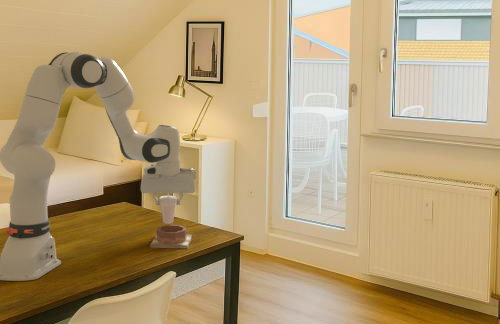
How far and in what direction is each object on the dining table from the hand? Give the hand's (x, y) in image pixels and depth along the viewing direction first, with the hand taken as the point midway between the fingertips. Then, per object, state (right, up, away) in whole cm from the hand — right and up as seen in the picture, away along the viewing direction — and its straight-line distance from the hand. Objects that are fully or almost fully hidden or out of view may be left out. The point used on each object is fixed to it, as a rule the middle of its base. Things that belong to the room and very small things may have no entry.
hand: (168, 204), depth 231 cm
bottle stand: (+3, -13, -10) cm, 16 cm away
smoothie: (0, -7, +1) cm, 7 cm away
